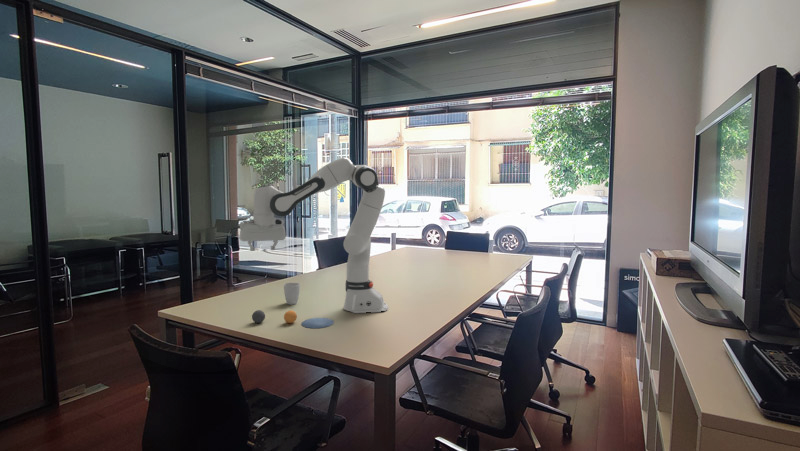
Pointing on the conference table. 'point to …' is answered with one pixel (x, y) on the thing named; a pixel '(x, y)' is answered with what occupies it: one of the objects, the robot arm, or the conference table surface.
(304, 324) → the blue mark
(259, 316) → the dark gray ball
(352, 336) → the conference table surface
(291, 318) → the orange ball
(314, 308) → the conference table surface
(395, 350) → the conference table surface
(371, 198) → the robot arm
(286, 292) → the cup
